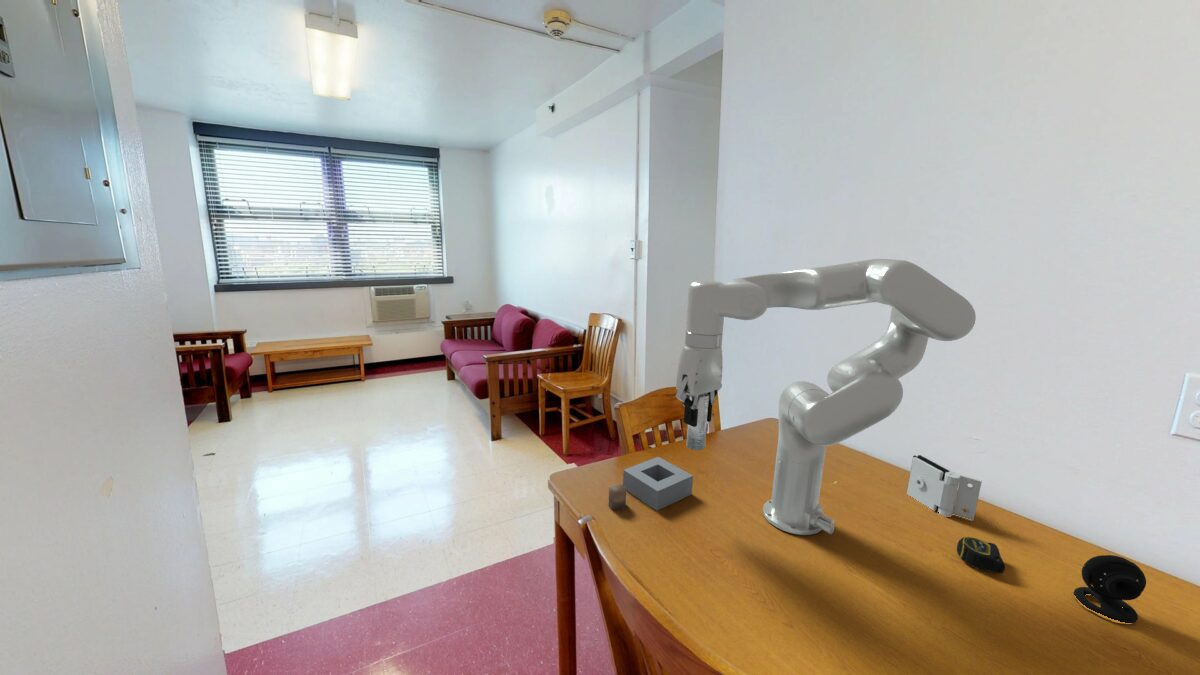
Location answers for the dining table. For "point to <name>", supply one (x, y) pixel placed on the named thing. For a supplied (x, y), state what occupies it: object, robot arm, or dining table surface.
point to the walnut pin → (617, 497)
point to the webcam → (1112, 586)
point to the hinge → (942, 488)
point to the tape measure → (980, 554)
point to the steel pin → (699, 425)
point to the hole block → (657, 482)
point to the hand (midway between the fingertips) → (697, 421)
